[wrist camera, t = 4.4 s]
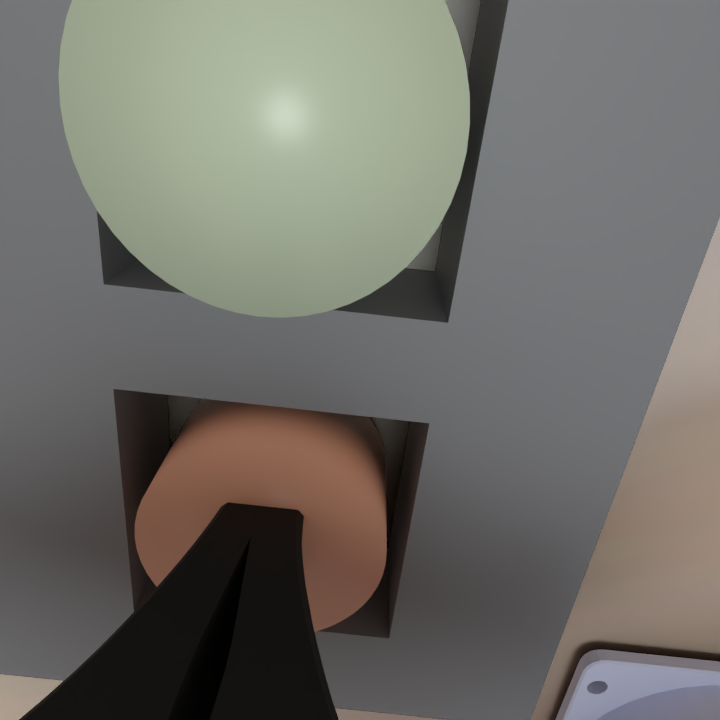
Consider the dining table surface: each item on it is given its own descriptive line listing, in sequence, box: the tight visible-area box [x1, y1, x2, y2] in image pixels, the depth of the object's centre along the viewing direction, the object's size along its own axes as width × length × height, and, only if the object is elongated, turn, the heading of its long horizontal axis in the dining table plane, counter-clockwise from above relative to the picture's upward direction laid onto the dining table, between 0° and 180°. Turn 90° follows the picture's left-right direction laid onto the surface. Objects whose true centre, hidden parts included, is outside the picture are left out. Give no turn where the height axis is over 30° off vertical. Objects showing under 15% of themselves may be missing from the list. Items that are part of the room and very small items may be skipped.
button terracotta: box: [135, 399, 387, 632], centre depth 11 cm, size 4×4×2 cm
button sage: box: [58, 0, 470, 318], centre depth 7 cm, size 4×4×2 cm
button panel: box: [0, 0, 720, 720], centre depth 9 cm, size 24×12×2 cm, turn 174°
